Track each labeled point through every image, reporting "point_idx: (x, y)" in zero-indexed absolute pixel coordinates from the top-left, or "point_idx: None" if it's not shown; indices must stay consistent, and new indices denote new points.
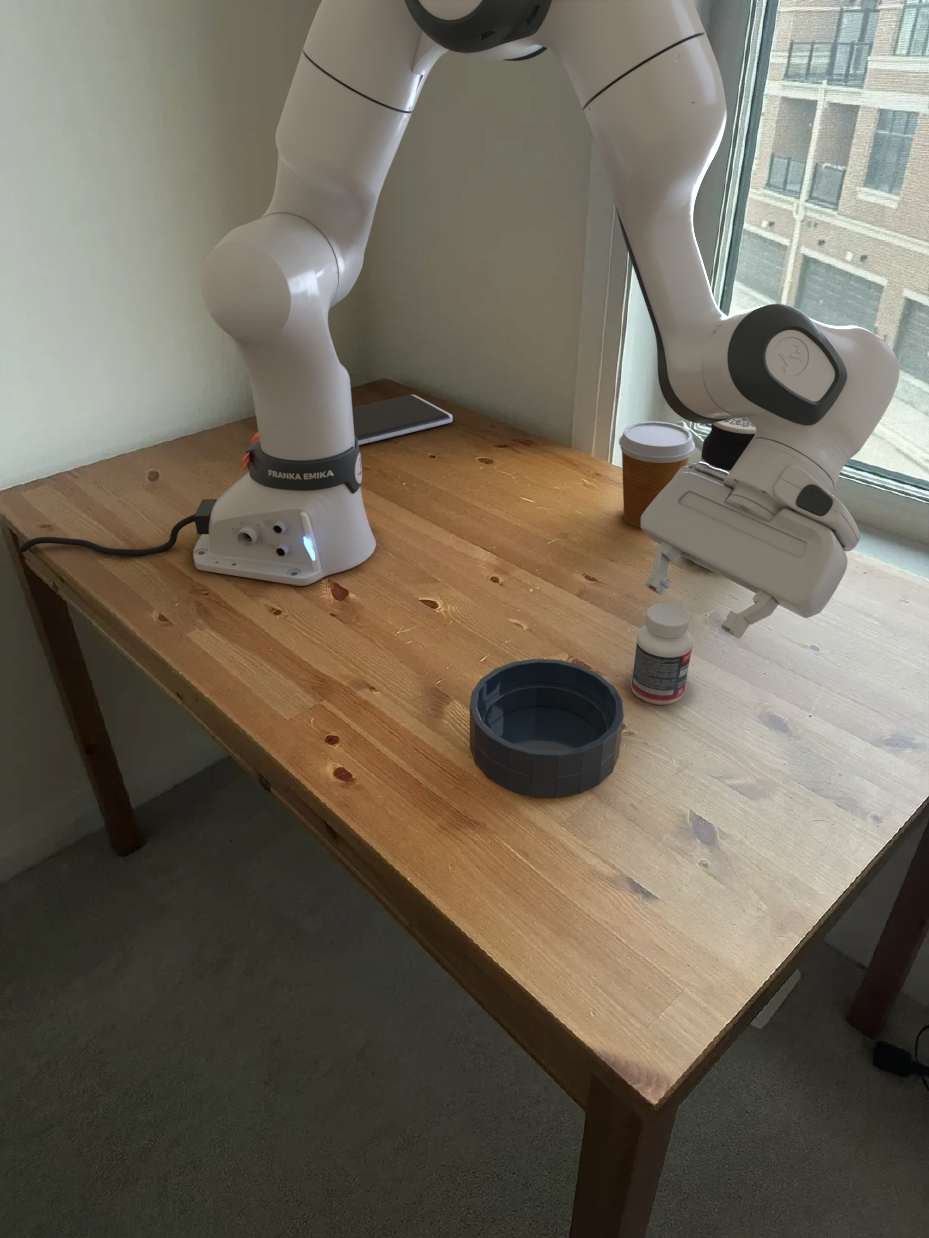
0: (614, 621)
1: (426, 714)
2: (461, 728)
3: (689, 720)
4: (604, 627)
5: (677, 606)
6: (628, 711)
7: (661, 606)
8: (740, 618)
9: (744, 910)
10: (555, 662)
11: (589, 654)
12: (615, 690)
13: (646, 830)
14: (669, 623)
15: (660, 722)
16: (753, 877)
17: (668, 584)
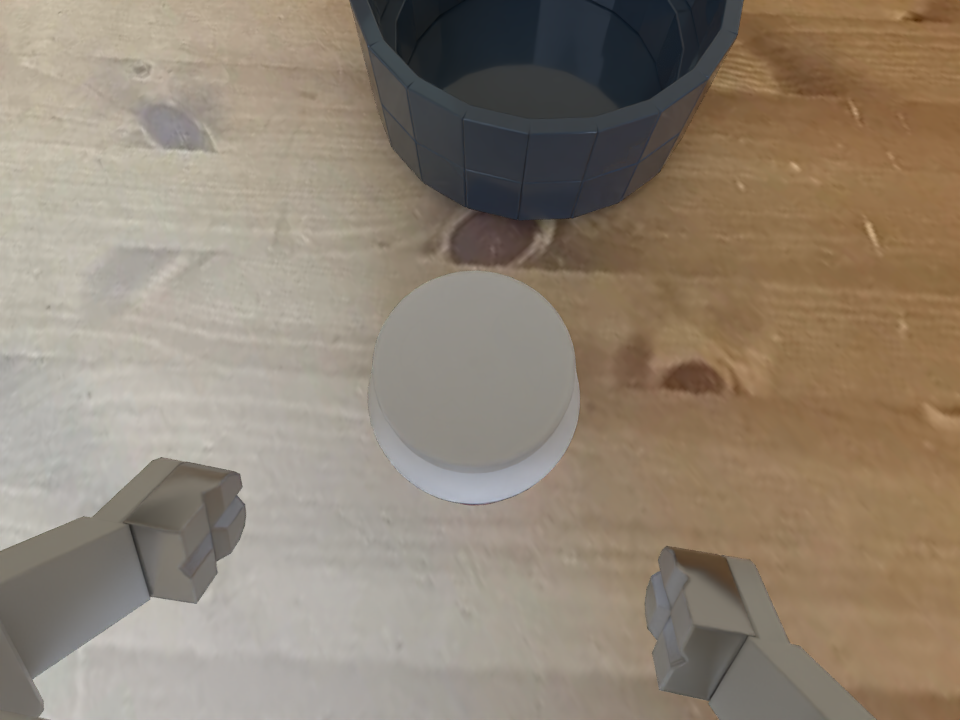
0: None
1: (775, 33)
2: None
3: (344, 379)
4: (789, 594)
5: (478, 453)
6: None
7: (536, 397)
8: (114, 508)
9: (52, 39)
10: (657, 97)
11: (712, 436)
12: (445, 105)
13: (259, 68)
14: (424, 297)
15: None
16: (58, 97)
17: (659, 649)
